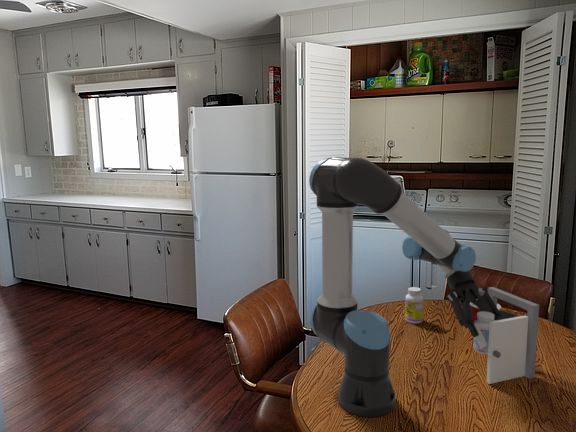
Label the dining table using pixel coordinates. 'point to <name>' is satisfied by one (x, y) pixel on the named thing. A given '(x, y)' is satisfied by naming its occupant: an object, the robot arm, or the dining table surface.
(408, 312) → the supplement bottle
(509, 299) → the door frame
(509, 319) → the door
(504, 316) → the phone
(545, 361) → the dining table surface
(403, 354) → the dining table surface
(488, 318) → the pill bottle
